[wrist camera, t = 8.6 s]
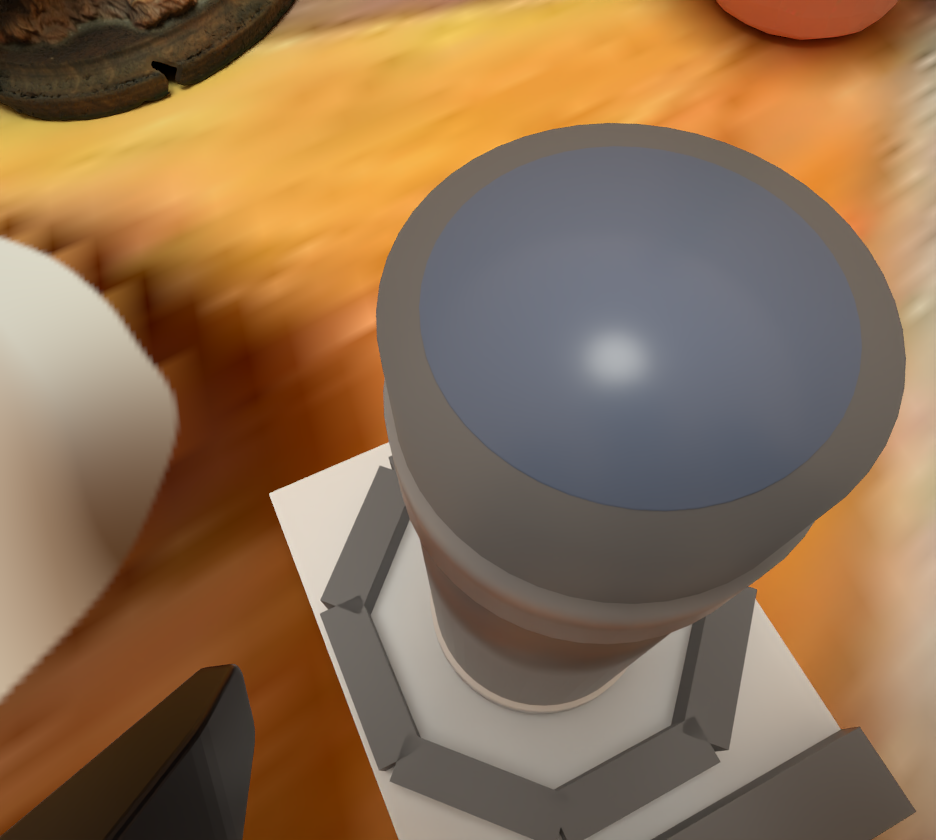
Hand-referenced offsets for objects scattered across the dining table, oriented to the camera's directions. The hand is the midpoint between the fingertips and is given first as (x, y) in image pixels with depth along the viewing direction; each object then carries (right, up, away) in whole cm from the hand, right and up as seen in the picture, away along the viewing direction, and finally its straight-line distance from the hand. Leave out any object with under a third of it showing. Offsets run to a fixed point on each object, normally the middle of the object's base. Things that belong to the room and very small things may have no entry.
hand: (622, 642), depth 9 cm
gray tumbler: (0, -2, +9) cm, 9 cm away
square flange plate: (0, -4, +12) cm, 12 cm away
